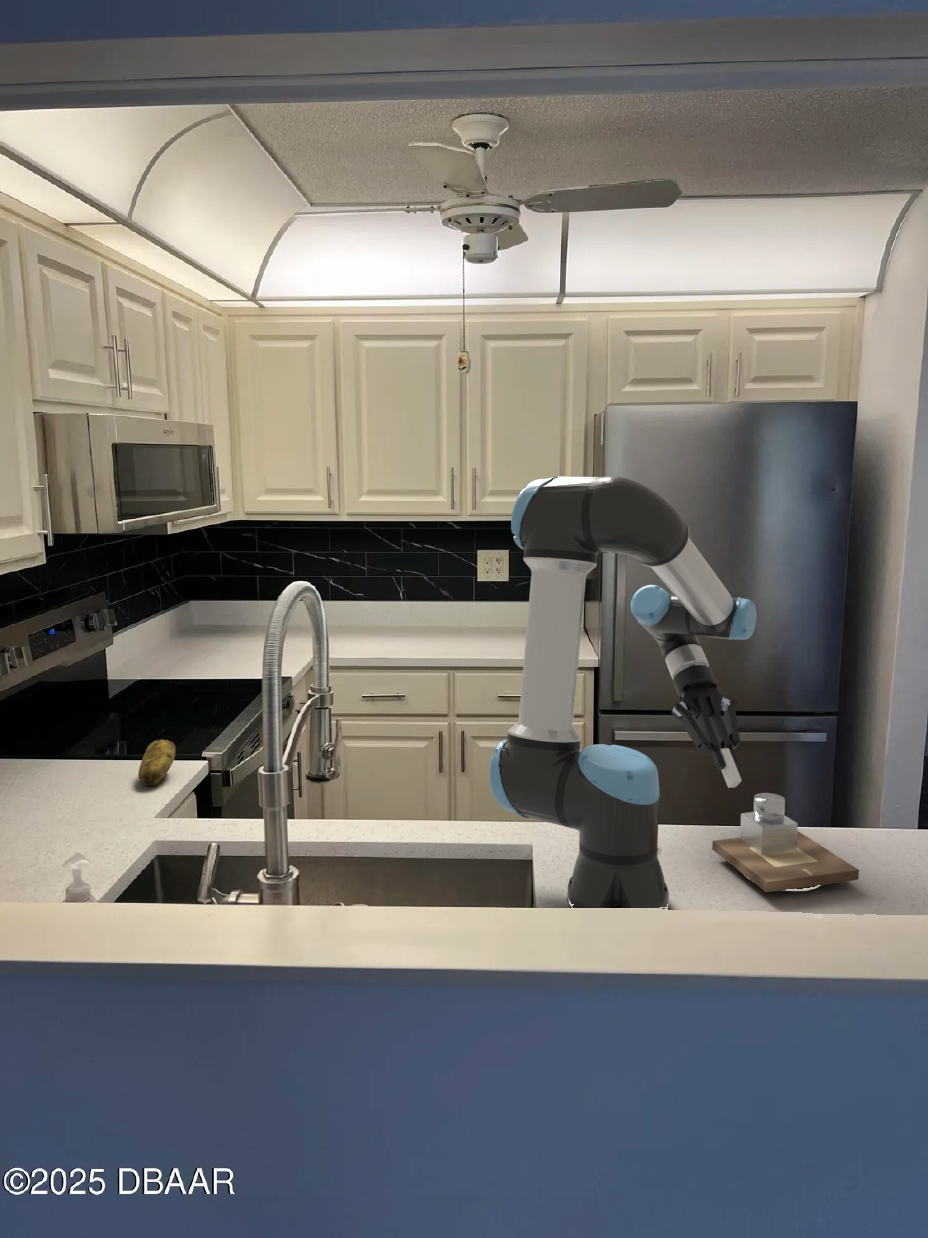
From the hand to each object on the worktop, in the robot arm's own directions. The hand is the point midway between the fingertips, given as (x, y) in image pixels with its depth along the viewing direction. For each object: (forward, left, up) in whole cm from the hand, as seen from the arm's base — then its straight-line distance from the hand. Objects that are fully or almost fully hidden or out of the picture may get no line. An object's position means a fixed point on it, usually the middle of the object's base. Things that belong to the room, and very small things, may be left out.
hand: (734, 784), depth 154 cm
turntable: (+15, -6, -8) cm, 18 cm away
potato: (-94, -78, -10) cm, 123 cm away
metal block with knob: (+11, -5, -6) cm, 13 cm away
